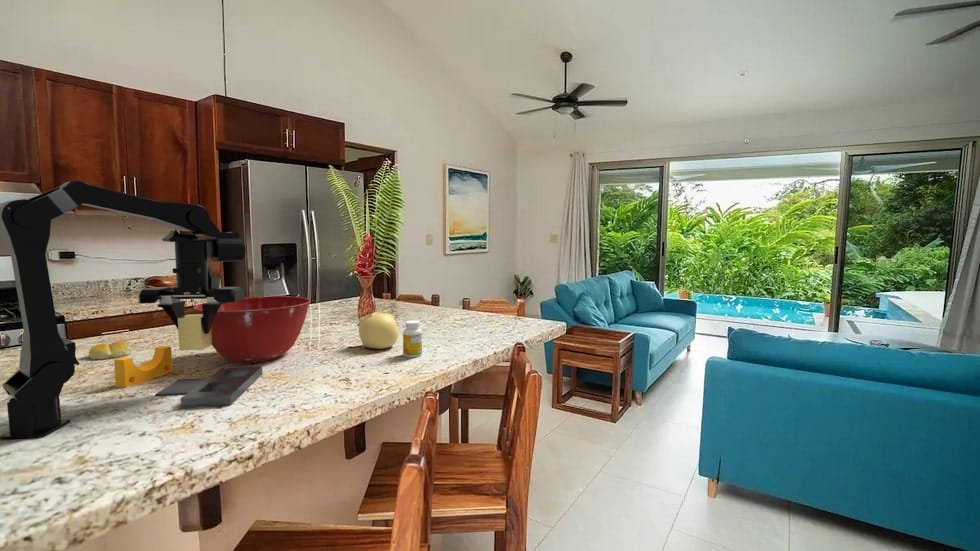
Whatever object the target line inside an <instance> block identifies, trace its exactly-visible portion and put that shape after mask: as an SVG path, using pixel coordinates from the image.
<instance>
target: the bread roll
mask: <svg viewBox="0 0 980 551" xmlns="http://www.w3.org/2000/svg"><path fill="white" fill-rule="evenodd" d="M131 353H132V346H131V345H130V344H129V343H127V342H125V341H120V340H117V341H113V342H111V343H110V344H109V343H99V344H96V345H95V346H92V347H91V348H90V349H89V351H88V357H89V358H90V359H91V360H96V359H102V360H109V358H110V359H118V358H121V357H127V356H129V355H131ZM117 357H118V358H117Z"/></svg>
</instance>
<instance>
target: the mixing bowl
mask: <svg viewBox="0 0 980 551" xmlns="http://www.w3.org/2000/svg"><path fill="white" fill-rule="evenodd" d="M205 303H207V302H202V303H199V304H195V305H194V306H193V309H194V310H195V311H196V314H203V312H202V304H205ZM310 303H311V299H309V298H306V297H301V296H283V295H281V296H277V295H275V296H274V295H273V296H270V295H269V296H267V295H266V296H251V297H248V296H247V297H244V299H241V300H239V301H236V302H227V303H225V304H222V305H221V306H220V308H219V309H218V311H217V313H216V315H215V318H214V321H213V323H212V326H211V337H212V345H211V346H212V347H213V348H214V350H215V351H216V352H217V353H218V354H219V355H220V356H222V358H225V359H228V360H229V361H231V362H233V363H240V364H241V363H245V364H246V363H259V362H266V361H270V360H274V359H278V358H279V357H281V356H284V354H286V353H287V352H289V350H291V348H292V347H293V346H294V345H295V344H296V342H297V340H298V338H299V335H300V334H301V331H302V329H303V326H304V323H305V320H306V317H307V313H308V309H309V306H310V305H309V304H310Z"/></svg>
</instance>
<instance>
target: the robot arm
mask: <svg viewBox="0 0 980 551" xmlns="http://www.w3.org/2000/svg"><path fill="white" fill-rule="evenodd" d="M80 205H82V206H87V207H92V208H96V209H100V210H106V211H111V212H114V213H121V214H124V215H129V216H135V217H140V218H144V219H148V220H152V221H155V222H156V223H160V224H161V225H163V226H166V227H169V228H172V229H174V230H170V231H169V233H168V234H167V235H165V236H164V237H163V238H162V242H165V243H167V242H168V243H174V257H175V258H174V260H175V267H174V268H172V274H175V275H176V276H175V277H176V278H175V280H176V287H173V288H172V287H171V286H167V287H165V286H160V287H159V286H157V287H156V286H153V287H148V288H145V289H141V290H140V292H139V293H138V296H137V297H138V304H155V303H157V302H158V301H159V303H158V304H157V308H162V309H163V311H164V312H165V313H166V314H167V316H168V317H169V318H170V319H171V321H172V322H173V324H174V326H175V327H176V329H177V330H178V318H179V317H182V316H185V305H186V302H187V300H191V299H192V300H206V301H207V303H206V302H204V303H205V304H202V312H203V325H204V330H205V334H208V333H209V332H210V329H211V326H212V323H213V321H214V318H215V315H216V313H217V311H218V309H219V308H220V306H221V305H222V304H225V303H227V302H236V301H239V300H241V299H244V298H245V292H244V289H243V288H242V287H241V286H224V287H220V285H221V278H220V277H219V276H216V275H215V274H212V269H211V266H208V258H209V259H210V260H211V261H212V262H215V263H216V262H217V263H218V262H219V263H222V262H238V261H239V262H241V261H242V260H244V258H245V255H246V246H245V243H244V240H243V239H242V238H241V237H240V234H241V233H240V231H229V232H228V231H227V232H221V231H220V229H219V228H218V227H217V226H216V225H215V223H214V222H213V220H211V218H210V214H209V212H208V210H207V209H206V207H205V206H203V205H201V204H197V203H189V202H188V203H186V202H174V201H159V200H155V199H151V198H148V197H142V196H138V195H136V194H135V195H134V194H131V193H127V192H122V191H117V190H113V189H110V188H106V187H102V186H96V185H93V184H89V183H87V182H85V181H82V180H73V181H67V182H66V181H65V182H64V183H62V184H61V185H60V186H57V187H55V188H53V189H50V190H48V191H45V192H43V193H39V194H38V195H34V196H33V197H30V198H26V199H25V198H24V199H14V200H7V201H4V202H1V203H0V239H1V241H2V242H3V244H4V246H5V248H6V249H7V251H8V253H9V255H10V258H11V263H12V264H11V265H12V269H13V270H12V271H13V275H14V281H15V282H14V283H15V286H16V287H15V288H16V292H17V297H18V298H17V299H18V305H19V310H20V316H21V322H22V326H23V327H22V328H23V333H24V336H23V341H22V343H21V344H22V345H21V348H20V355H19V366H18V367H19V369H18V370H17V371H16V372H15V373H14V374H12V375H11V376H10V377H9V378H8V379H7V380H6V381H5V382H3V383H2V385H1V386H2V388H3V389H4V391H5V392H6V394H7V395H8V396H10V397H11V398H10V399H9V400H8V402H6V406H7V408H6V409H7V417H8V428H9V429H8V430H9V431H8V432H5V433H3V434H1V435H0V440H12V439H13V440H14V439H27V438H42V437H45V436H47V435H49V434H51V433H53V432H54V431H57V430H58V429H59V428H61V427H63V426H65V425H66V424H69V423H70V422H71V418H62V412H61V403H60V402H61V401H60V395H61V392H62V389H63V387H64V384H66V383H67V382H69V381H70V379H72V377H73V376H74V375H75V372H76V365H77V366H79V365H80V362H79V361H78V359H77V357H76V350H77V349H76V348H77V346H76V342H74V341H72V340H71V339H68V338H65V337H63V338H62V337H61V335H60V333H59V328H58V324H57V318H56V317H57V316H56V310H55V304H54V300H53V299H54V298H53V291H52V287H51V278H50V273H49V267H48V261H47V256H46V255H47V249H48V246H49V241H50V238H51V229H52V228H51V226H52V220H54V219H56V218H58V217H60V216H62V215H65V214H66V213H69V211H71V210H73V209H75V208H77V207H78V206H80ZM179 232H188V233H179ZM198 236H199V237H201V236H203V237H206V238H204V239H203V238H199V237H198Z"/></svg>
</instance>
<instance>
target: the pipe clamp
mask: <svg viewBox="0 0 980 551" xmlns="http://www.w3.org/2000/svg"><path fill="white" fill-rule="evenodd" d="M172 357H173V355H172V346H170V345H169V346H168V345H165V346H164V345H162V346H158V347H154V353H153V356H152V359H150V360H147V361H143V363H141V364H140V365H138V366H136V365H135V363H134V361H133V357H127V356H123V357H118V358H113V363H114V377H115V379H114V380H115V387H116V386H117V387H116V388H123V387H126V388H129V387H132V386H135V385H137V383H138V384H140V382H141V383H143V381H144V382H146V381H149V380H152V379H154V377H155V378H158V377H160V375H161V376H163V375H166V374H168V372H169V373H171V371H172V372H173V360H172V359H173V358H172ZM165 373H166V374H165ZM162 374H163V375H162ZM157 376H158V377H157ZM151 378H152V379H151ZM148 379H149V380H148ZM145 380H146V381H145ZM134 384H135V385H134ZM131 385H132V386H131ZM128 386H129V387H128Z"/></svg>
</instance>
